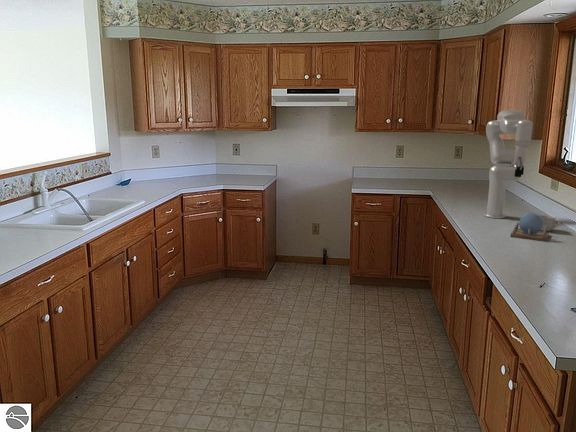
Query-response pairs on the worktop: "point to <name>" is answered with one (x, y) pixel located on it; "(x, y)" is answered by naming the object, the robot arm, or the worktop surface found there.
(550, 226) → the teacup
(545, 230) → the dish rack
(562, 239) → the worktop surface
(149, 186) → the worktop surface
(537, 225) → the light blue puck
